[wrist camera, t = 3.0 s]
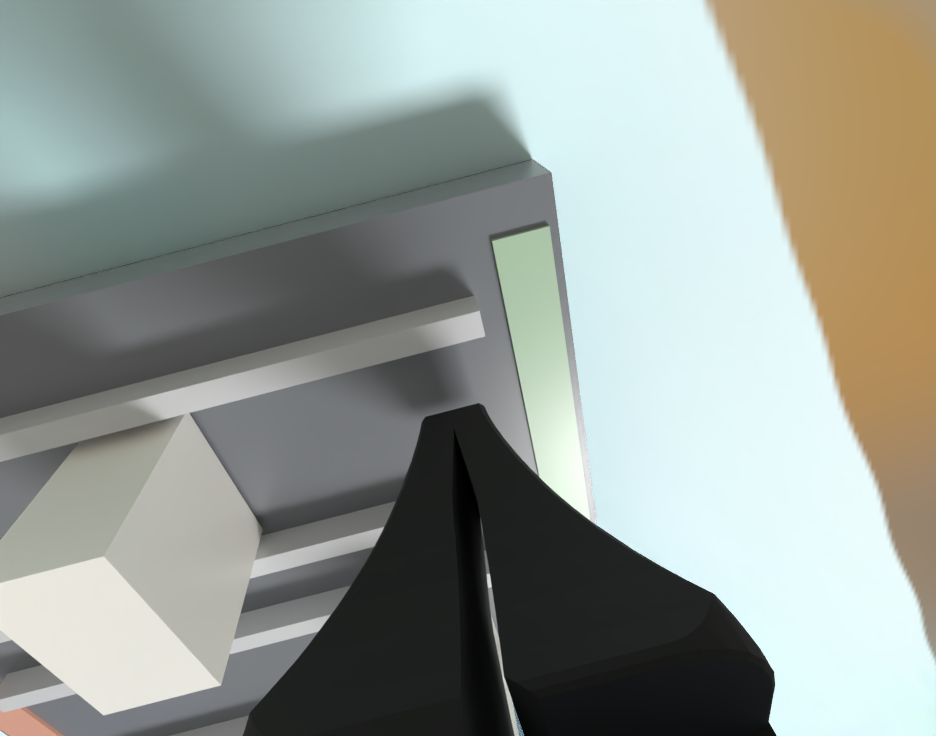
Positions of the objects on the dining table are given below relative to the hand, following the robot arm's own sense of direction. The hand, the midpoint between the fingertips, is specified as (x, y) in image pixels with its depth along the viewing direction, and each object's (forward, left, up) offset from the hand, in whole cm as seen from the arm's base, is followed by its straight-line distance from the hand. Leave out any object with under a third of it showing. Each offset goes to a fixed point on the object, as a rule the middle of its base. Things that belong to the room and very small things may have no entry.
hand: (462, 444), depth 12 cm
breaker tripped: (-7, 0, -1) cm, 7 cm away
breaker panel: (-7, -4, -3) cm, 8 cm away
